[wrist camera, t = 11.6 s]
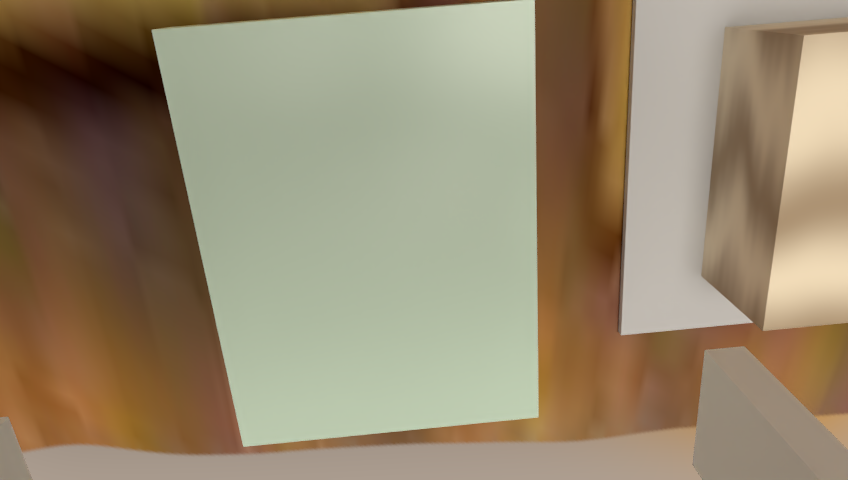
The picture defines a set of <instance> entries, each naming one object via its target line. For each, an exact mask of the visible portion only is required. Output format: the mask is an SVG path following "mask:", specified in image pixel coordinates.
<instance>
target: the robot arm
mask: <svg viewBox="0 0 848 480" xmlns="http://www.w3.org/2000/svg"><path fill="white" fill-rule="evenodd" d="M693 466H694V468H695V469H696V471H697V472H698V474H699V475H700V477H701V478H702V480H848V450H847V448H846V447H845V446H844V445H843V444H842V443H841V442H840V441H839V440H837V438H836V437H835V436H834V435H833V434H832V433H831V432H830V431H828V429H826V427H825V426H824V425H823V424H822V423H821V422H820V421H819V420H817V418H816V417H815V416H814V415H813V414H812V413H811V412H810V411H809V410H808V409H807V408H806V407H805V406H804V405H803V404H802V403H801V402H800V401H799V400H798V399H797V398H796V397H795V396H794V395H793V394H792V393H791V392H790V391H789V390H788V389H787V388H786V387H785V386H784V385H783V384H781V383H780V382H779V381H778V380H777V379H776V378H775V377H774V376H773V375H772V374H771V373H770V372H769V371H768V370H767V369H766V368H765V367H764V366H763V365H762V364H761V363H760V362H759V361H758V360H757V359H756V358H755V357H754V356H753V355H752V354H751V353H750V352H749V351H748V350H747V349H746V348H745V347H744V346H743V347H732V348H722V349H711V350H705V354H704V363H703V372H702V381H701V391H700V400H699V409H698V419H697V428H696V437H695V447H694V456H693ZM0 480H32V477H31V474H30V472H29V470H28V467H27V464H26V462H25V459H24V456H23V454H22V451H21V448H20V446H19V443H18V441H17V438H16V436H15V433H14V430H13V428H12V425H11V423H10V420H9V417H0Z"/></svg>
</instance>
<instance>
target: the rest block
mask: <svg viewBox="0 0 848 480" xmlns="http://www.w3.org/2000/svg"><path fill="white" fill-rule="evenodd" d="M701 276H702V277H703V278H704V279H705V280H706V281H707V282H709V283H710V284H711V285H712V286H713V287H714V288H715V289H716V290H718V291H719V292H720V293H721V294H722V295H723V296H724V297H725V298H726V299H728V300H729V301H730V302H731V303H732V304H733V305H734V306H735V307H737V308H738V309H739V310H740V311H741V312H742V313H743V314H744V315H746V316H747V317H748V318H749V319H750V320H751V321H752V322H753V323H755V324H756V325H757V326H758V327H759V328H760V329H761V330H762V331H767V330H777V329H787V328H798V327H808V326H818V325H829V324H839V323H848V17H842V18H830V19H818V20H806V21H794V22H782V23H769V24H757V25H745V26H733V27H725V33H724V43H723V54H722V64H721V75H720V85H719V95H718V106H717V116H716V127H715V137H714V148H713V158H712V169H711V179H710V190H709V200H708V211H707V221H706V232H705V242H704V253H703V263H702V273H701Z"/></svg>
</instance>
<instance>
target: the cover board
mask: <svg viewBox="0 0 848 480" xmlns="http://www.w3.org/2000/svg"><path fill="white" fill-rule="evenodd" d="M152 34H153V39H154V44H155V48H156V53H157V57H158V62H159V66H160V71H161V75H162V80H163V84H164V89H165V94H166V98H167V103H168V107H169V112H170V116H171V121H172V125H173V130H174V134H175V139H176V143H177V148H178V153H179V157H180V162H181V166H182V171H183V175H184V180H185V184H186V189H187V193H188V198H189V202H190V207H191V212H192V216H193V221H194V225H195V230H196V234H197V239H198V243H199V248H200V252H201V257H202V261H203V266H204V271H205V275H206V280H207V284H208V289H209V293H210V298H211V302H212V307H213V311H214V316H215V320H216V325H217V330H218V334H219V339H220V343H221V348H222V352H223V357H224V361H225V366H226V370H227V375H228V379H229V384H230V389H231V393H232V398H233V402H234V407H235V411H236V416H237V420H238V425H239V429H240V434H241V439H242V443H243V447H246V446H256V445H266V444H276V443H286V442H296V441H306V440H316V439H326V438H336V437H346V436H356V435H366V434H376V433H386V432H396V431H406V430H416V429H426V428H436V427H446V426H456V425H466V424H476V423H486V422H496V421H506V420H516V419H526V418H536V417H538V309H537V198H536V88H535V0H501V1H488V2H476V3H463V4H451V5H438V6H426V7H413V8H401V9H388V10H376V11H364V12H351V13H339V14H326V15H314V16H301V17H289V18H276V19H264V20H251V21H239V22H226V23H214V24H201V25H189V26H177V27H166V28H160V29H154V30H152Z"/></svg>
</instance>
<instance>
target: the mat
mask: <svg viewBox="0 0 848 480" xmlns="http://www.w3.org/2000/svg"><path fill="white" fill-rule="evenodd" d="M842 17H848V0H633V11H632V34H631V56H630V79H629V101H628V124H627V147H626V169H625V192H624V215H623V237H622V260H621V282H620V305H619V328H618V332H619V333H620V335H628V334H639V333H649V332H660V331H670V330H680V329H691V328H701V327H711V326H722V325H732V324H742V323H753V322H752V321H751V320H750V319H749V318H748V317H747V316H746V315H744V314H743V313H742V312H741V311H740V310H739V309H738V308H737V307H735V306H734V305H733V304H732V303H731V302H730V301H729V300H728V299H726V298H725V297H724V296H723V295H722V294H721V293H720V292H719V291H718V290H716V289H715V288H714V287H713V286H712V285H711V284H710V283H709V282H707V281H706V280H705V279H704V278H703V277H702V276H701V273H702V263H703V253H704V242H705V232H706V221H707V211H708V200H709V190H710V179H711V169H712V158H713V148H714V137H715V127H716V116H717V106H718V95H719V85H720V75H721V64H722V54H723V43H724V33H725V27H733V26H745V25H757V24H769V23H782V22H794V21H806V20H818V19H830V18H842Z"/></svg>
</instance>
